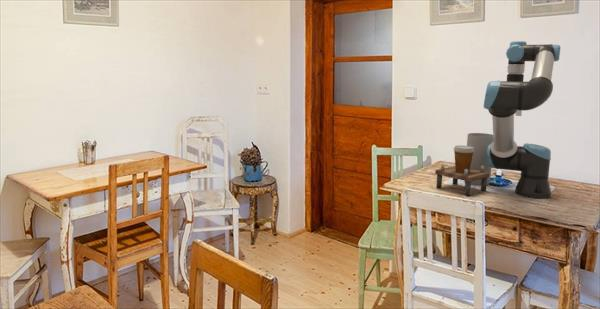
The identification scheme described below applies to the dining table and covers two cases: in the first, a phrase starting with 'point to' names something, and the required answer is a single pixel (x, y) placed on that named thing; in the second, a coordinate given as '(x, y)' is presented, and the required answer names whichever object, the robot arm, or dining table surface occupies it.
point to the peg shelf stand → (462, 177)
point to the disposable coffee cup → (463, 157)
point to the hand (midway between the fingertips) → (511, 116)
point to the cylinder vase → (480, 153)
